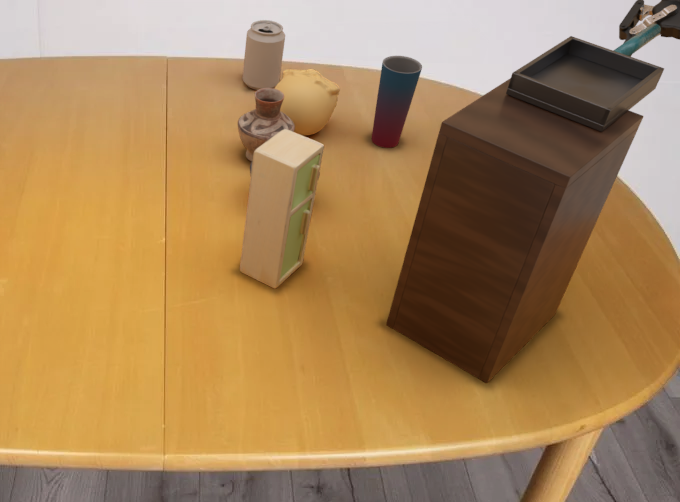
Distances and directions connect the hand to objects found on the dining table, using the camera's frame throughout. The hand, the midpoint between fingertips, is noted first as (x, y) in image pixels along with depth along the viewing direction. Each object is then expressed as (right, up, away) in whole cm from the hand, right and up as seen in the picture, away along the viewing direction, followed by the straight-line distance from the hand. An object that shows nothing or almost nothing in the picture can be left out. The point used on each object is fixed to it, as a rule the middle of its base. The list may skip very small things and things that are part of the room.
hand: (653, 64), depth 128 cm
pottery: (-54, -13, +22) cm, 60 cm away
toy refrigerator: (-55, -30, +4) cm, 63 cm away
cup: (-31, -4, +34) cm, 46 cm away
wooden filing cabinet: (-28, -37, -3) cm, 46 cm away
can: (-53, +11, +48) cm, 73 cm away
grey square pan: (-14, -6, -15) cm, 22 cm away
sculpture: (-47, -1, +36) cm, 59 cm away
